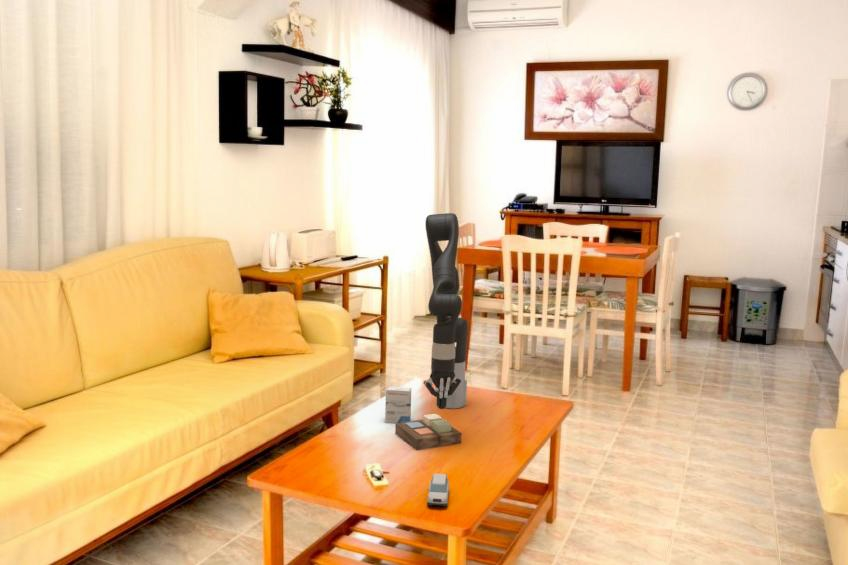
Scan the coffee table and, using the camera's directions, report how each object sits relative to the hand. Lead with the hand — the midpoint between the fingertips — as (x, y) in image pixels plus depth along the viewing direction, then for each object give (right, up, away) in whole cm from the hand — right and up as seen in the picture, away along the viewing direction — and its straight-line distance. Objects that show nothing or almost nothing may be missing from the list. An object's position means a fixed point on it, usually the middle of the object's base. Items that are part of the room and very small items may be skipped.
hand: (441, 408), depth 243 cm
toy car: (-2, -18, -41) cm, 45 cm away
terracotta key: (-6, -9, -1) cm, 11 cm away
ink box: (-15, -8, +19) cm, 25 cm away
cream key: (-3, -6, +7) cm, 10 cm away
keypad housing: (-4, -10, +3) cm, 12 cm away
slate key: (-9, -8, +4) cm, 13 cm away
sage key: (0, -7, +1) cm, 7 cm away
